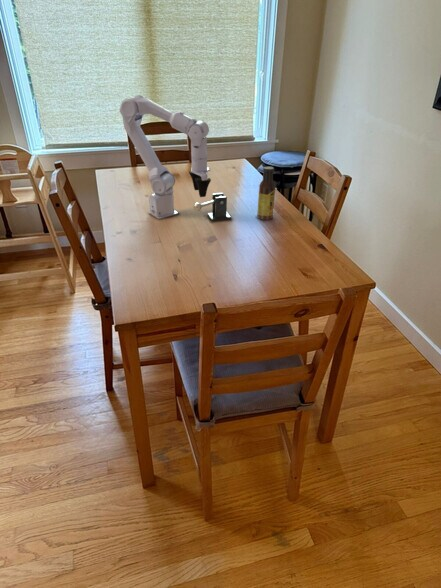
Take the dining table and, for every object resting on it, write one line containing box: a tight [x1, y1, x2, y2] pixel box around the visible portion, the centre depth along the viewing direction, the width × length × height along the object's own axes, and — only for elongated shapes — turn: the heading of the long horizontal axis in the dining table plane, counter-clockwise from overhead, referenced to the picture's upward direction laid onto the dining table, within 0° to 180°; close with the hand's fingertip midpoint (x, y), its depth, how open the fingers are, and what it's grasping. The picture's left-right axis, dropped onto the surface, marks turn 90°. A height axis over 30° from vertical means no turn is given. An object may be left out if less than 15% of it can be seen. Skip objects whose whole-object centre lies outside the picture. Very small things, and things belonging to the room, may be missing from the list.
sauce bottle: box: [257, 166, 276, 221], centre depth 157 cm, size 7×6×20 cm
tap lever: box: [193, 195, 223, 212], centre depth 157 cm, size 12×3×3 cm, turn 107°
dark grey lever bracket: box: [207, 192, 232, 223], centre depth 160 cm, size 8×6×9 cm
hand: (200, 193), depth 156 cm, fingers open, 7 cm apart
